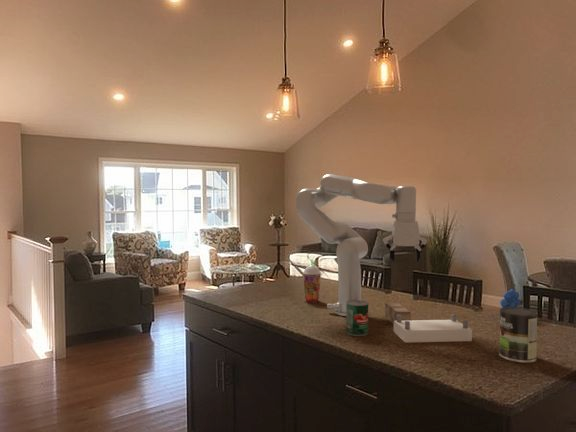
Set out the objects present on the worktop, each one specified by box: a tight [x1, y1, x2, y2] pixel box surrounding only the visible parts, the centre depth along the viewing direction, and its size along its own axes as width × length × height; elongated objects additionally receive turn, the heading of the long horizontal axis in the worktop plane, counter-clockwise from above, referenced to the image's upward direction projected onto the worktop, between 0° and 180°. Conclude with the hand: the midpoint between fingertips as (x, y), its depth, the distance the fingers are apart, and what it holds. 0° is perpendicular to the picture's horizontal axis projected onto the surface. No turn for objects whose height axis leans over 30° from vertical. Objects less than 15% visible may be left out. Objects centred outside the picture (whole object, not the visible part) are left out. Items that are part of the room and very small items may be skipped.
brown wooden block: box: [384, 302, 412, 325], centre depth 181 cm, size 16×5×6 cm, turn 4°
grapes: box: [499, 288, 521, 310], centre depth 186 cm, size 12×7×12 cm, turn 121°
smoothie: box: [302, 258, 322, 303], centre depth 219 cm, size 8×8×20 cm
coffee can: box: [498, 306, 539, 364], centre depth 139 cm, size 10×10×14 cm
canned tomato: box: [345, 299, 369, 337], centre depth 165 cm, size 8×8×11 cm
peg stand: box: [393, 313, 473, 343], centre depth 161 cm, size 23×13×6 cm, turn 94°
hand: (404, 260), depth 182 cm, fingers open, 9 cm apart
